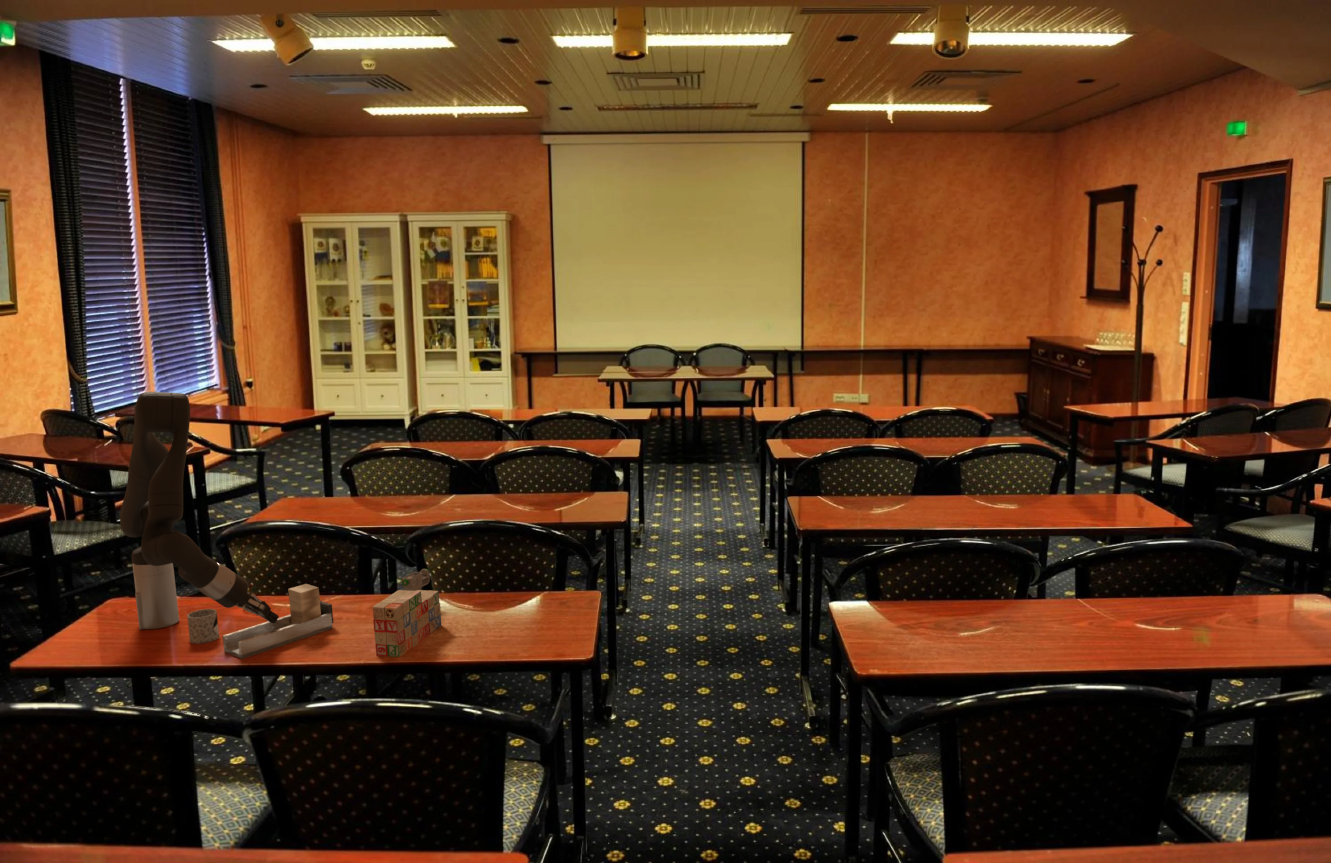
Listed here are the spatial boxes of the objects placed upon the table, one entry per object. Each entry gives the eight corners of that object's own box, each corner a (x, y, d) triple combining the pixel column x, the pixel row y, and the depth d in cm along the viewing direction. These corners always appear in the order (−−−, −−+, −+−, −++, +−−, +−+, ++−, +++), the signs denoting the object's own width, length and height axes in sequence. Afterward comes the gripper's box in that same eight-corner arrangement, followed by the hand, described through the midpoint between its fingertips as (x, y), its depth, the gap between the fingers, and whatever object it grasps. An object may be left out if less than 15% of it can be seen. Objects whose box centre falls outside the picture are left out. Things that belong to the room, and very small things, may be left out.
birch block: (304, 631, 242) (300, 592, 241) (291, 626, 246) (288, 588, 244) (321, 625, 246) (318, 587, 245) (309, 621, 250) (306, 583, 248)
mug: (222, 639, 242) (219, 613, 241) (193, 645, 238) (190, 619, 237) (212, 628, 250) (209, 603, 249) (184, 634, 246) (181, 609, 245)
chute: (242, 659, 229) (239, 634, 228) (224, 651, 234) (221, 627, 233) (336, 627, 248) (334, 605, 247) (317, 621, 253) (315, 598, 252)
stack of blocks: (419, 624, 249) (416, 577, 247) (442, 625, 247) (438, 579, 245) (375, 656, 228) (371, 606, 226) (399, 657, 227) (396, 607, 225)
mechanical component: (433, 603, 264) (431, 568, 262) (412, 616, 254) (409, 579, 253) (424, 602, 265) (421, 567, 263) (402, 615, 255) (399, 578, 254)
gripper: (246, 575, 225) (299, 611, 237) (217, 566, 233) (269, 601, 245) (226, 603, 222) (281, 638, 233) (198, 593, 230) (251, 627, 241)
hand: (275, 619), depth 239 cm, fingers closed
